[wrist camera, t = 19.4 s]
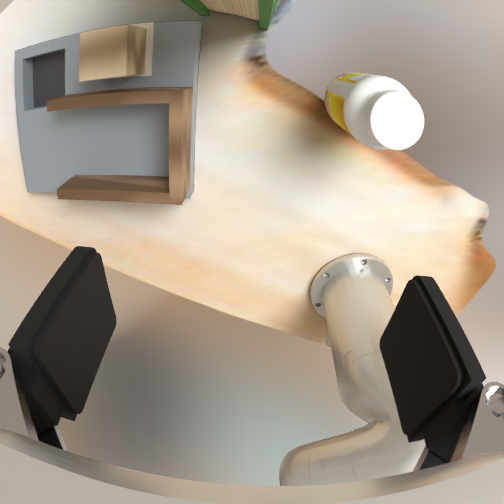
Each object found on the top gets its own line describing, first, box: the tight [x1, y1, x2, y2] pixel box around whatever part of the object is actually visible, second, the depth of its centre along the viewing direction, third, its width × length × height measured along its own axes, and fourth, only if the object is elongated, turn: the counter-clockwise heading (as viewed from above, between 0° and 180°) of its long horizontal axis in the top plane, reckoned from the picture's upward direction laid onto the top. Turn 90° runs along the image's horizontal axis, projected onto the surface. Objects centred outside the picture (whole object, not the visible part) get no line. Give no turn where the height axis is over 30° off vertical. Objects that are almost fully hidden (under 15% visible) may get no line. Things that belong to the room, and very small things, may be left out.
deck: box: [15, 21, 202, 198], centre depth 30 cm, size 20×24×3 cm
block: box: [79, 24, 147, 82], centre depth 24 cm, size 5×5×5 cm
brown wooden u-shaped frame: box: [47, 87, 193, 205], centre depth 30 cm, size 11×15×4 cm
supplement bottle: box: [325, 73, 424, 150], centre depth 25 cm, size 7×7×13 cm
